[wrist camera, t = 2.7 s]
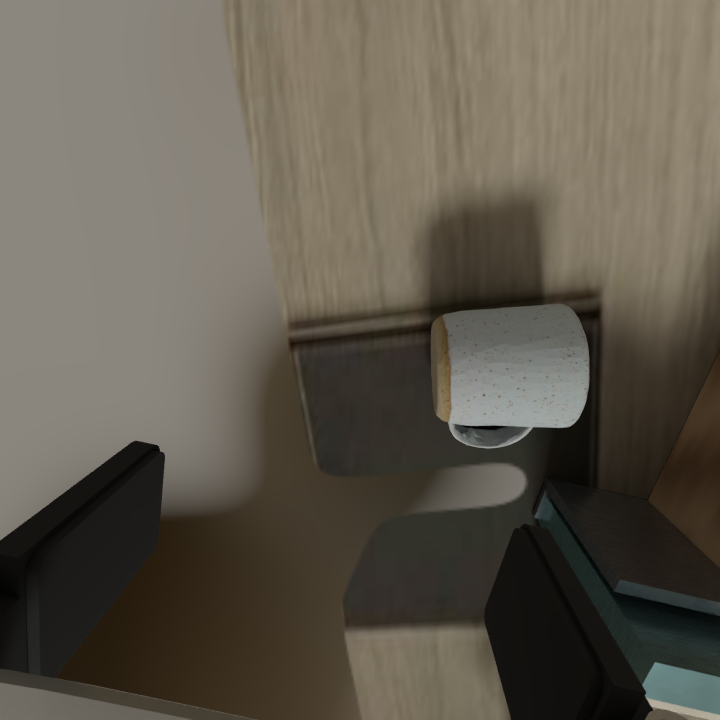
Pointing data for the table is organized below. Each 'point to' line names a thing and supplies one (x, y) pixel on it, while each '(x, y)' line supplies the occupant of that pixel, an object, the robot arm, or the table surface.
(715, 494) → the wooden board
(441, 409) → the ceramic mug
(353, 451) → the table surface
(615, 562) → the bookend and books
